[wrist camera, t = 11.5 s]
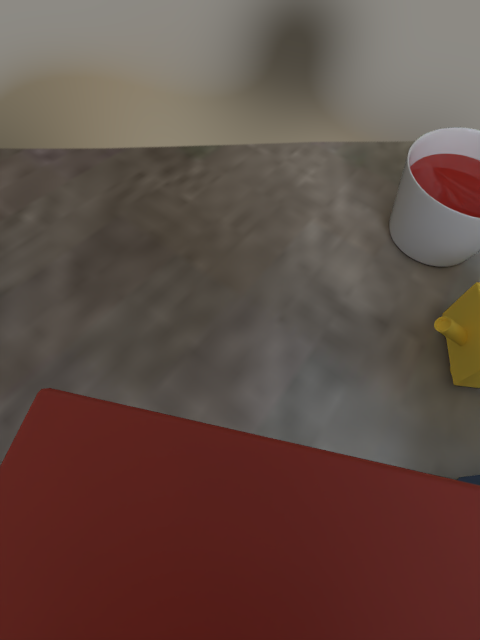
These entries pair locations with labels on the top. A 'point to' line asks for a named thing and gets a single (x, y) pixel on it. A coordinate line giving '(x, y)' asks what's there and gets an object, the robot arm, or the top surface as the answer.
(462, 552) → the red block
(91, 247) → the top surface
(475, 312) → the toy block
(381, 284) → the top surface
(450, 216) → the candle
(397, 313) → the top surface
